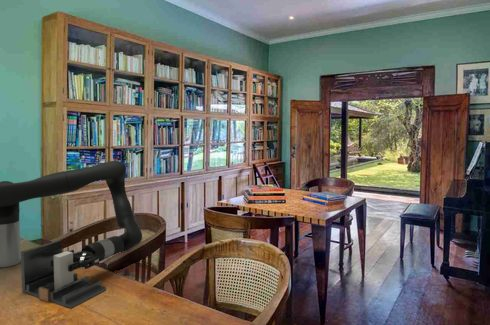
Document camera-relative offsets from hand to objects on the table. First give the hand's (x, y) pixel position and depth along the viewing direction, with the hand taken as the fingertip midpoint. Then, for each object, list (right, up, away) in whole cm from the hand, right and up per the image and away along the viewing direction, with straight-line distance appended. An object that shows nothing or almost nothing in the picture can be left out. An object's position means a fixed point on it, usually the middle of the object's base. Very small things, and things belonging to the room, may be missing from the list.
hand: (59, 266), depth 117 cm
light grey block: (0, -8, +2) cm, 8 cm away
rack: (0, -9, +2) cm, 9 cm away
